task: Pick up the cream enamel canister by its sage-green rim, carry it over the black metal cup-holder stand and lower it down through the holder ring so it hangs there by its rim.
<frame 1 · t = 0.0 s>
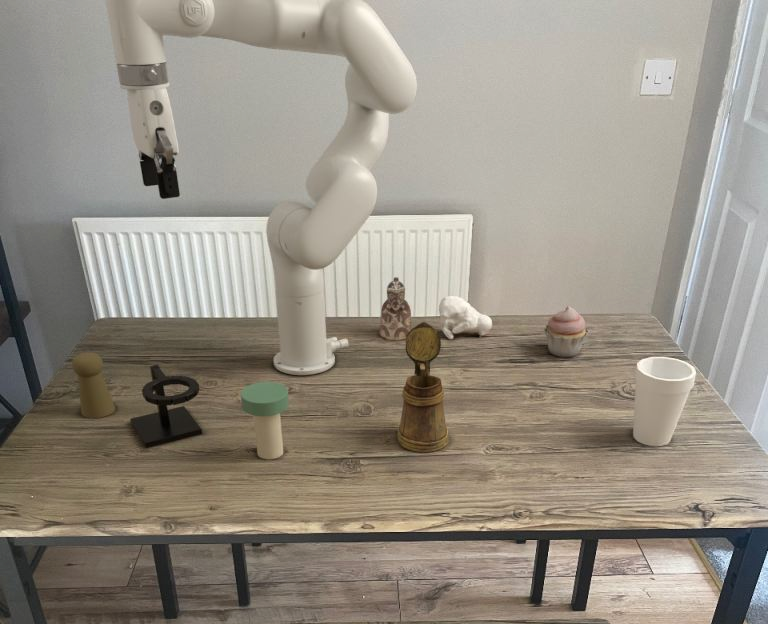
hand: (161, 191, 135), 37 cm above the table, tool pointing down, fingers open, 9 cm apart
canister: (270, 452, 136), on the table
figurine: (395, 334, 178), on the table
foam cup: (651, 438, 140), on the table
holder: (181, 451, 137), on the table
white animal statue: (464, 335, 177), on the table
tan pawn: (98, 411, 149), on the table
cupcake: (563, 352, 170), on the table
wooden mug: (422, 434, 142), on the table
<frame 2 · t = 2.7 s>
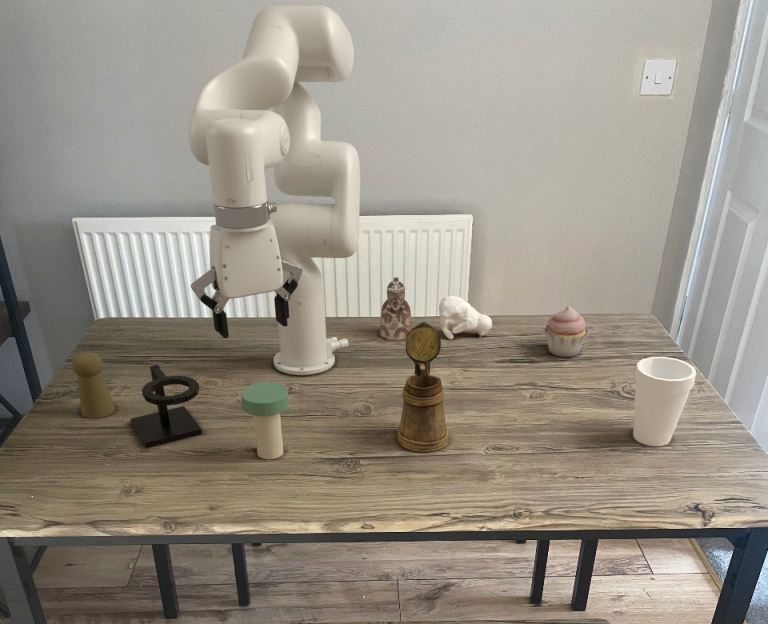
hand: (253, 329, 124), 22 cm above the table, tool pointing down, fingers open, 9 cm apart
nothing on the table moved.
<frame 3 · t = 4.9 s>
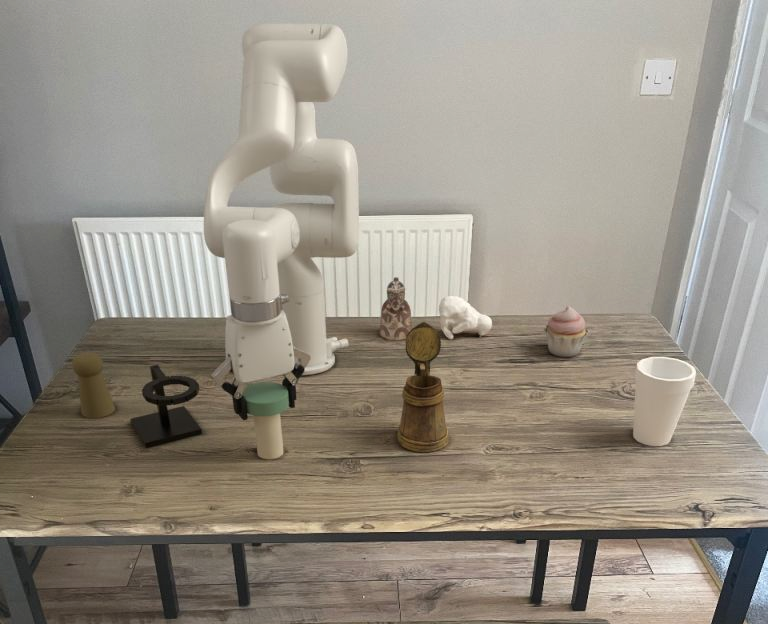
hand: (266, 410, 131), 8 cm above the table, tool pointing down, fingers closed on canister, 7 cm apart
canister: (270, 452, 136), on the table, touching gripper
everything else where it was.
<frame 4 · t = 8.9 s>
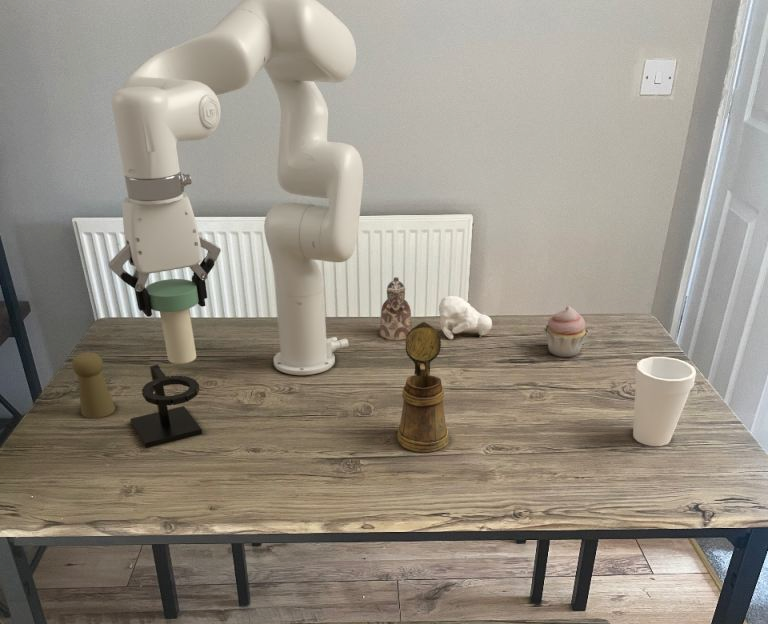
hand: (174, 308, 122), 25 cm above the table, tool pointing down, fingers closed on canister, 7 cm apart
canister: (182, 357, 127), point 17 cm above the table, touching gripper
everything else where it was.
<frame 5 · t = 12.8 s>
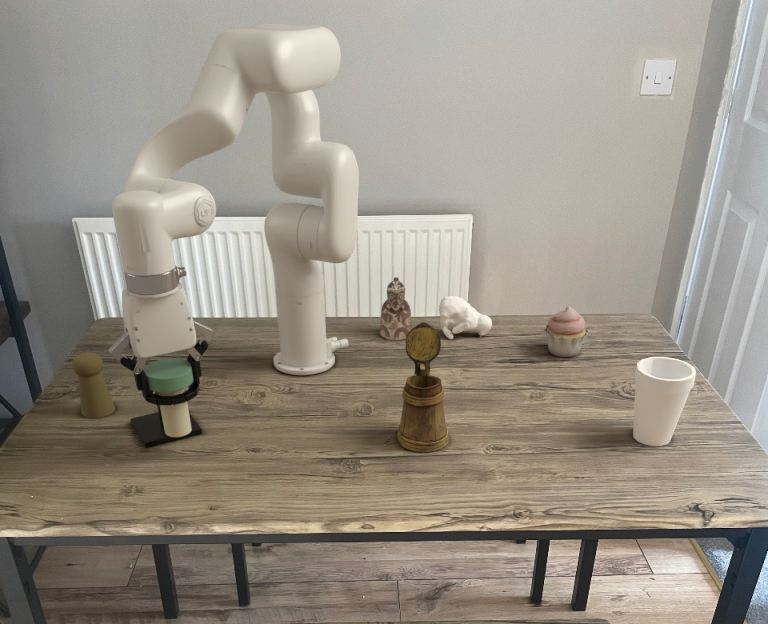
hand: (170, 386, 130), 12 cm above the table, tool pointing down, fingers closed on canister, 7 cm apart
canister: (178, 430, 134), point 4 cm above the table, touching gripper
everything else where it was.
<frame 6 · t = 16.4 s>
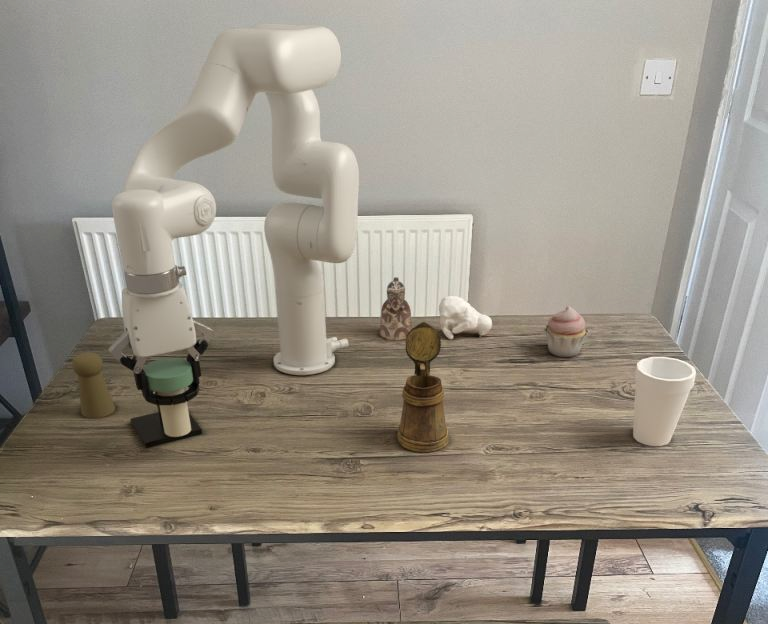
hand: (170, 386, 130), 12 cm above the table, tool pointing down, fingers closed on canister, 7 cm apart
canister: (177, 430, 134), point 4 cm above the table, touching gripper
everything else where it was.
when the fingers open (13 cm above the table, at t = 19.8 s): canister drops 1 cm, resting on holder.
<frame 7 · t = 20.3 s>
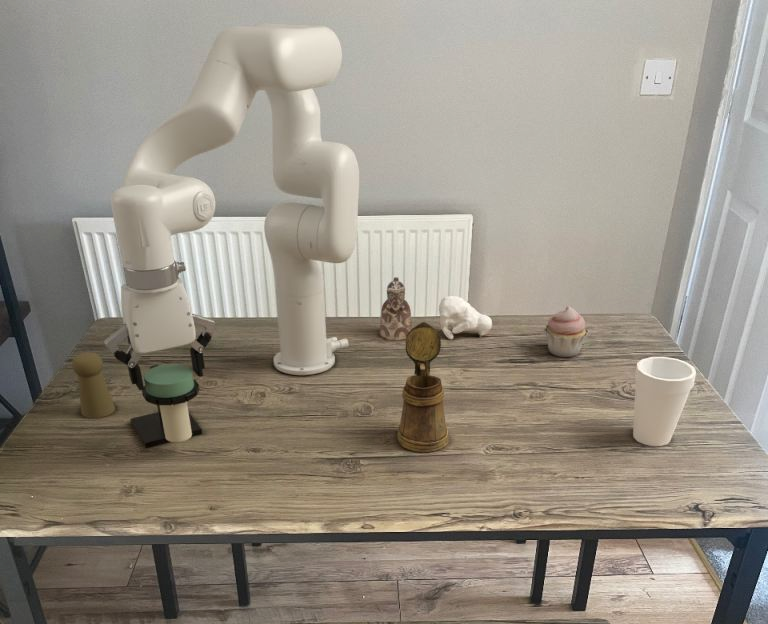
hand: (169, 380, 129), 13 cm above the table, tool pointing down, fingers open, 9 cm apart
canister: (178, 435, 135), point 3 cm above the table, touching holder
everything else where it was.
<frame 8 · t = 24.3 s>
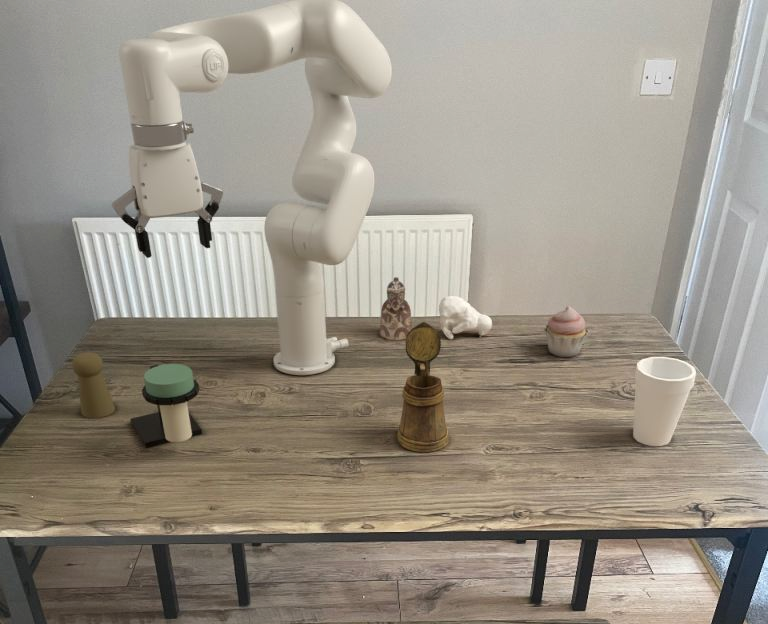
hand: (176, 250, 129), 30 cm above the table, tool pointing down, fingers open, 9 cm apart
nothing on the table moved.
at the end: canister 0.0 cm off-centre on the holder, point 3.0 cm above the holder's base; canister touching holder; canister tilted 0° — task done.
